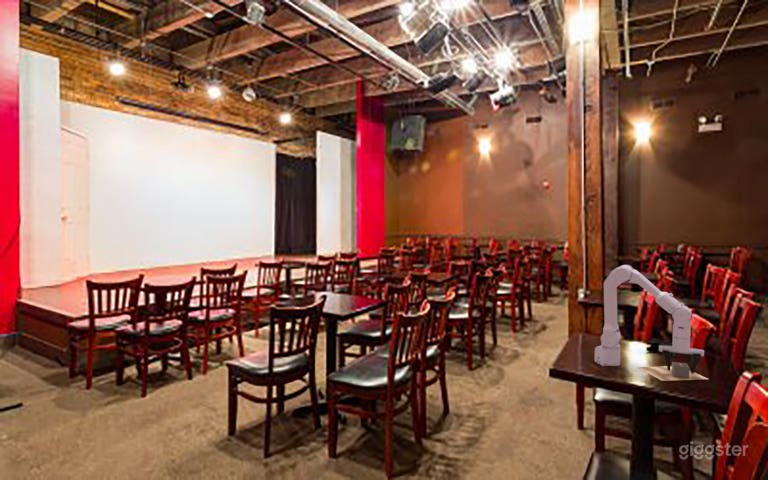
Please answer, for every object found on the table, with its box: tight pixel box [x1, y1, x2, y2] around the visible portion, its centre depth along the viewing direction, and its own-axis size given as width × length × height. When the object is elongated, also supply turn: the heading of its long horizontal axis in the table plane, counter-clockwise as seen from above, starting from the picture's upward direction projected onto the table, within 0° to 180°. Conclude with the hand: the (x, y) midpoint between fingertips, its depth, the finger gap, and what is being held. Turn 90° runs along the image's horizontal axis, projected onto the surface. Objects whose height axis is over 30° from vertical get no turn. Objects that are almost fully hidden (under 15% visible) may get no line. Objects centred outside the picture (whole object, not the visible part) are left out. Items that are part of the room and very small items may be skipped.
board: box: [636, 365, 709, 382], centre depth 173 cm, size 19×15×2 cm
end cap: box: [646, 337, 677, 358], centre depth 200 cm, size 10×7×7 cm
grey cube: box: [671, 361, 691, 379], centre depth 170 cm, size 5×5×5 cm
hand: (680, 371), depth 170 cm, fingers open, 7 cm apart
